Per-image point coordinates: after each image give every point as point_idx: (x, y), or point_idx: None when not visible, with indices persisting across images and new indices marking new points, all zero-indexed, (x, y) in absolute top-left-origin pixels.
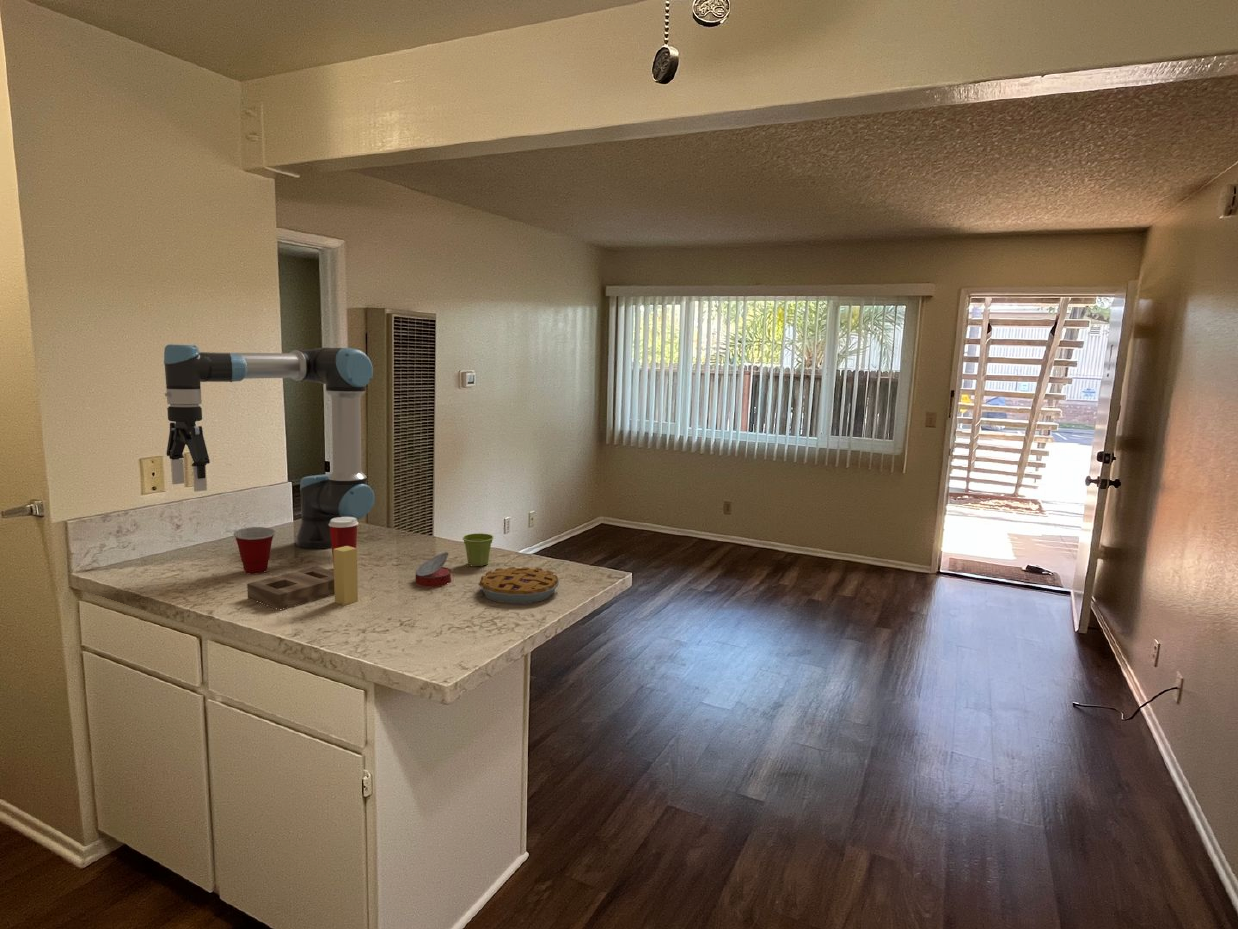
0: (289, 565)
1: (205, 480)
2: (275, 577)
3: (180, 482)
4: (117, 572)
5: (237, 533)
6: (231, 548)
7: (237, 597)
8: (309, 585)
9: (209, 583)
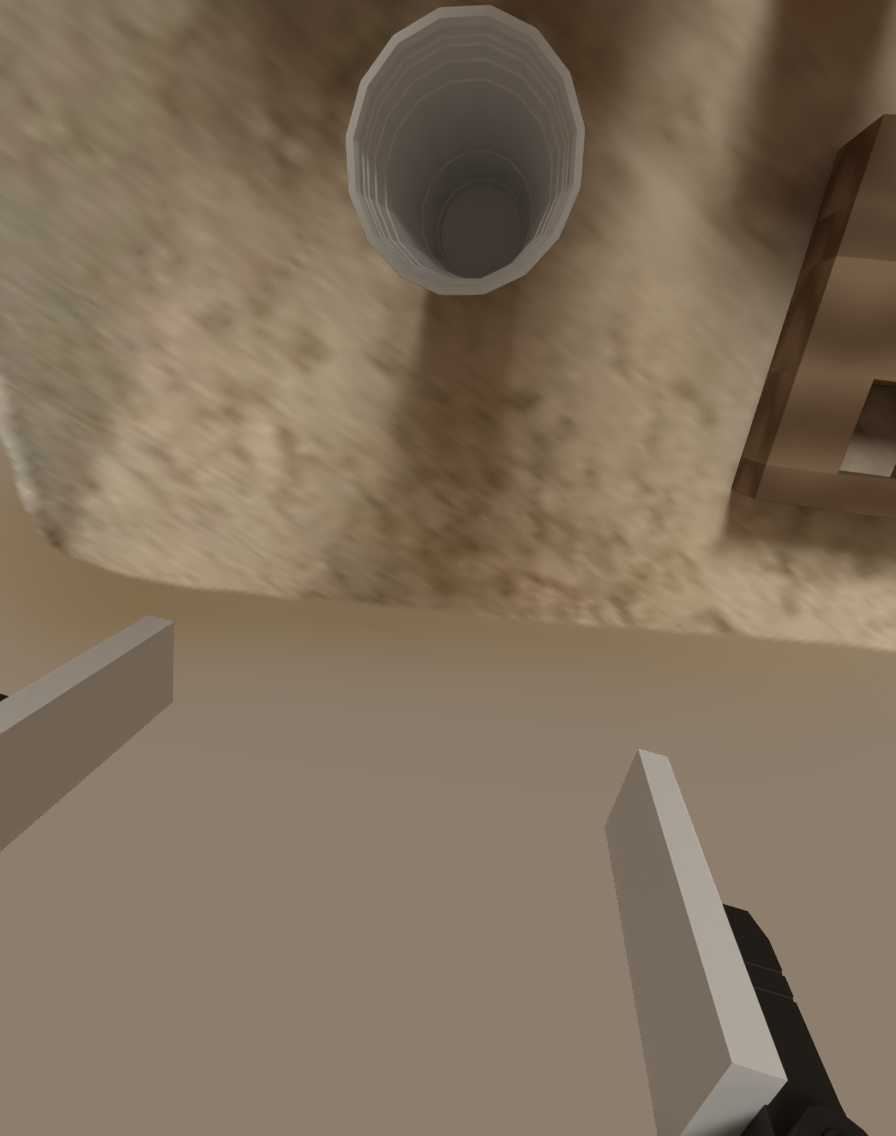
0: None
1: (693, 845)
2: (808, 382)
3: (165, 657)
4: (130, 517)
5: (377, 229)
6: (75, 44)
7: (685, 495)
8: None
9: (465, 443)
